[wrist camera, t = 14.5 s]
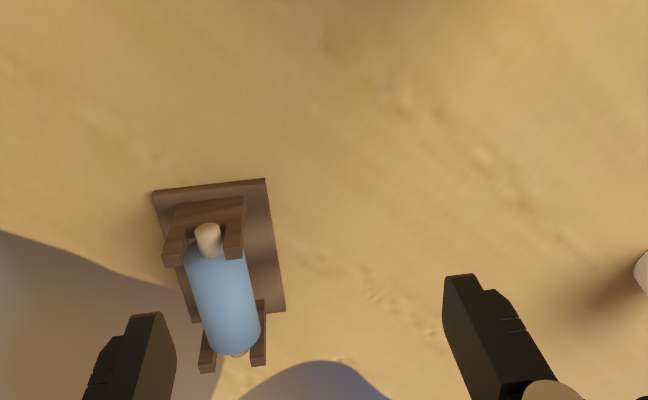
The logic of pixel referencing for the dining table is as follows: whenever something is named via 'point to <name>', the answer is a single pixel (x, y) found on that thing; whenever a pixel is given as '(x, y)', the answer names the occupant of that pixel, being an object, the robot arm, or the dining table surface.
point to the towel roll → (221, 293)
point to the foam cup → (642, 272)
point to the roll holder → (225, 246)
